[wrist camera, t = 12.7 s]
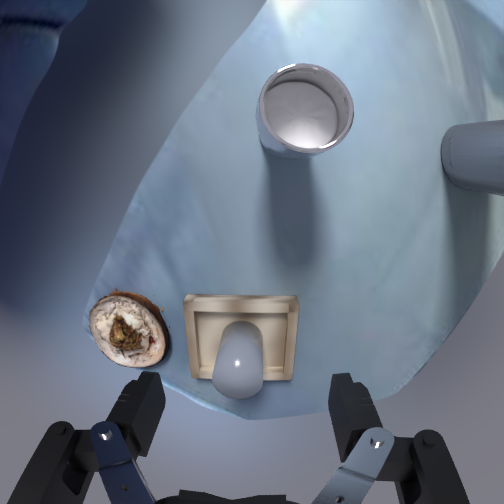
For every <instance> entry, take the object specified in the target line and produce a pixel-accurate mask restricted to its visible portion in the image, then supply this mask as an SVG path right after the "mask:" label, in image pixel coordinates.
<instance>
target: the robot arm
mask: <svg viewBox="0 0 504 504" xmlns="http://www.w3.org/2000/svg"><path fill="white" fill-rule="evenodd" d="M441 156H442V162H443V166H444V169H445V172H446V174H447V175H448V177H449V179H450V180H451V181H452V182H453V183H454V184H455V185H456V186H458V187H460V188H464V189H470V190H475V191H480V192H485V193H490V194H495V195H500V196H504V120H497V121H487V122H478V123H469V124H461V125H456V126H453V127H451V128H450V129H449V130H448V131H447V132H446V134H445V136H444V138H443V142H442V148H441ZM165 401H166V400H165V393H164V390H163V386H162V382H161V378H160V375H159V373H158V372H148V371H143V372H142V373H141V375H140V376H139V378H138V380H132V381H131V382H129V383H128V384H127V385H126V386H125V387H124V389H123V391H122V392H121V395H120V396H119V398H118V401H116V403H115V405H114V407H113V408H112V410H111V412H110V414H109V416H108V418H107V419H106V421H102V422H99V423H97V424H95V425H94V426H93V427H92V428H91V430H74V428H73V426H72V425H71V424H70V423H68V422H65V421H59V422H56V423H54V424H52V425H51V426H50V427H49V428H48V430H47V432H46V433H45V435H44V437H43V438H42V440H41V442H40V443H39V445H38V447H37V449H36V451H35V452H34V454H33V456H32V458H31V459H30V461H29V463H28V464H27V466H26V468H25V470H24V472H23V474H22V475H21V477H20V479H19V481H18V483H17V485H16V487H15V489H14V491H13V493H12V495H11V497H10V499H9V501H8V503H7V504H83V501H84V498H85V496H86V493H87V491H88V488H89V485H90V483H91V480H92V477H93V475H94V472H99V474H100V477H101V479H102V482H103V485H104V487H105V490H106V492H107V495H108V497H109V500H110V502H111V504H299V503H296V502H292V501H286V495H258V496H253V497H247V498H241V499H235V500H229V499H226V498H222V497H218V496H215V495H212V494H208V493H205V492H196V491H187V490H180V491H179V495H178V496H170V497H166V498H163V499H160V500H158V501H157V499H156V498H155V496H154V495H153V493H152V491H151V490H150V488H149V486H148V484H147V482H146V480H145V478H144V476H143V475H142V472H141V471H140V469H139V466H138V464H137V462H136V459H137V457H138V456H143V457H146V456H147V454H148V451H149V448H150V445H151V443H152V440H153V437H154V434H155V432H156V429H157V426H158V424H159V421H160V418H161V416H162V413H163V410H164V408H165ZM328 406H329V412H330V416H331V420H332V425H333V429H334V433H335V438H336V442H337V446H338V451H339V455H340V460H341V463H342V462H344V464H343V465H342V467H339V468H338V469H337V470H336V472H335V473H334V474H333V476H332V477H331V478H330V480H329V481H328V482H327V484H326V485H325V486H324V488H323V489H322V490H321V492H320V493H319V494H318V496H317V497H316V498H315V499H314V500H313V502H312V503H311V504H361V503H362V501H363V500H364V498H365V496H366V495H367V493H368V491H369V490H370V488H371V486H372V485H373V483H374V481H375V480H376V481H394V482H395V486H396V490H397V495H398V499H399V503H400V504H470V503H469V500H468V497H467V495H466V492H465V489H464V487H463V484H462V482H461V479H460V477H459V474H458V472H457V469H456V467H455V465H454V462H453V460H452V458H451V455H450V453H449V451H448V449H447V446H446V444H445V442H444V440H443V437H442V436H441V435H440V434H439V433H438V432H436V431H434V430H422V431H420V432H419V433H417V434H416V435H415V437H414V438H405V437H396V436H393V434H392V433H391V432H390V431H388V430H387V429H385V428H383V426H382V423H381V421H380V418H379V416H378V413H377V411H376V408H375V406H374V404H373V401H372V399H371V396H370V394H369V391H368V389H367V388H366V387H365V386H364V385H363V384H362V383H361V382H357V383H353V381H352V378H351V375H350V373H340V374H333V375H332V380H331V386H330V392H329V399H328Z"/></svg>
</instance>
